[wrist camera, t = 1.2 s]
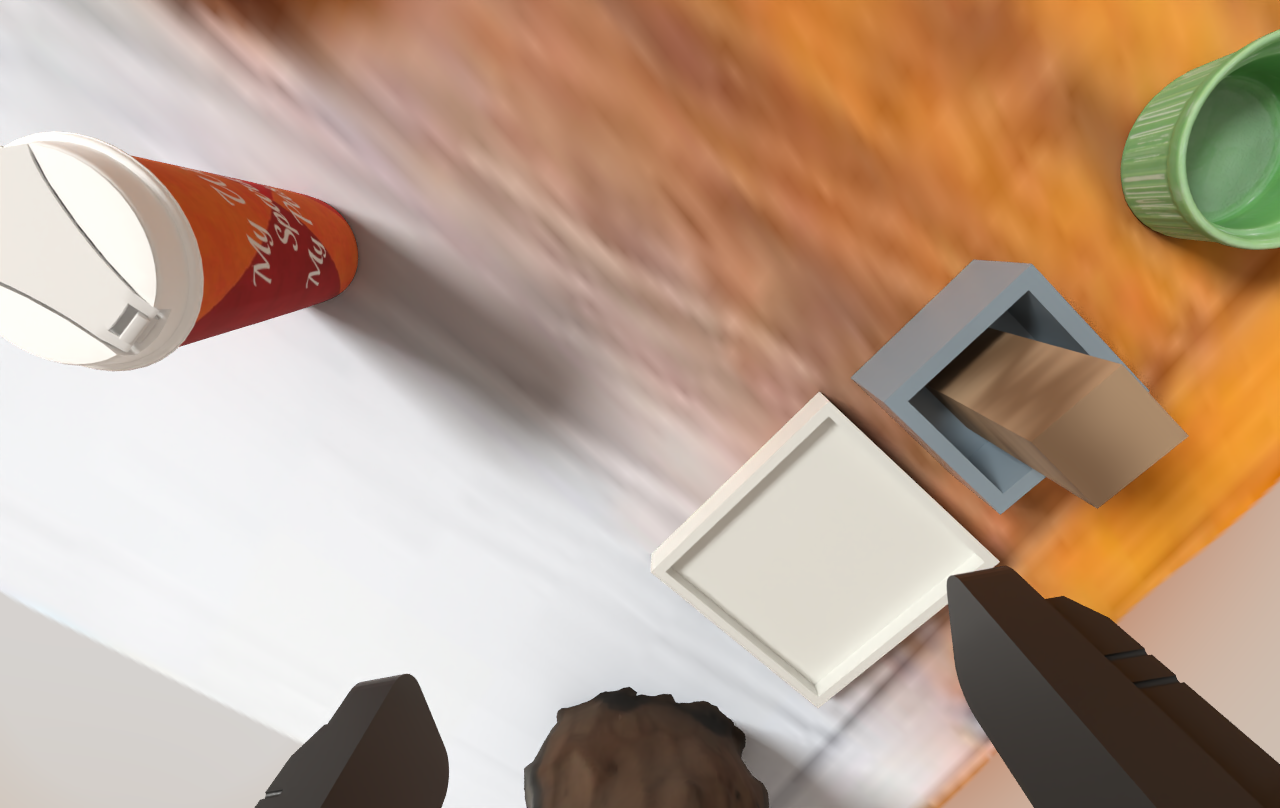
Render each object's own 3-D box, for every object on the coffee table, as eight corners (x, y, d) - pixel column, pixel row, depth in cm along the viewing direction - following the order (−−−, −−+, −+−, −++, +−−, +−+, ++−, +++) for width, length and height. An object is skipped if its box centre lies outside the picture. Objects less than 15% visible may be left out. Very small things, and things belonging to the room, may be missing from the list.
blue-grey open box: (973, 259, 31) (1032, 263, 26) (1076, 368, 32) (1149, 391, 27) (850, 377, 33) (883, 402, 28) (952, 475, 34) (1000, 514, 29)
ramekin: (1244, 262, 30) (1339, 266, 26) (1077, 229, 30) (1144, 229, 26) (1332, 72, 28) (1452, 43, 24) (1150, 35, 28) (1238, -1, 24)
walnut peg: (977, 324, 31) (1122, 364, 21) (1025, 374, 31) (1188, 436, 22) (917, 379, 32) (1031, 442, 22) (966, 427, 32) (1097, 508, 23)
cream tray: (819, 391, 33) (829, 401, 31) (981, 544, 35) (1000, 561, 33) (651, 554, 36) (650, 572, 34) (809, 684, 38) (817, 708, 36)
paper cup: (407, 250, 31) (219, 261, 18) (321, 349, 33) (91, 426, 20) (290, 138, 30) (-8, 58, 17) (207, 246, 32) (-126, 253, 18)
